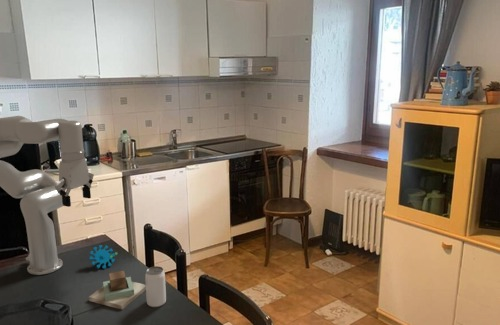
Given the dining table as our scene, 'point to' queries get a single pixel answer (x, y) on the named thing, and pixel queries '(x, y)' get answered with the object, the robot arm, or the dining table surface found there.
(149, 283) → the can
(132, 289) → the pocket
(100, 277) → the dining table surface
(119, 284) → the block
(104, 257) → the gear
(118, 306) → the board
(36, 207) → the robot arm
